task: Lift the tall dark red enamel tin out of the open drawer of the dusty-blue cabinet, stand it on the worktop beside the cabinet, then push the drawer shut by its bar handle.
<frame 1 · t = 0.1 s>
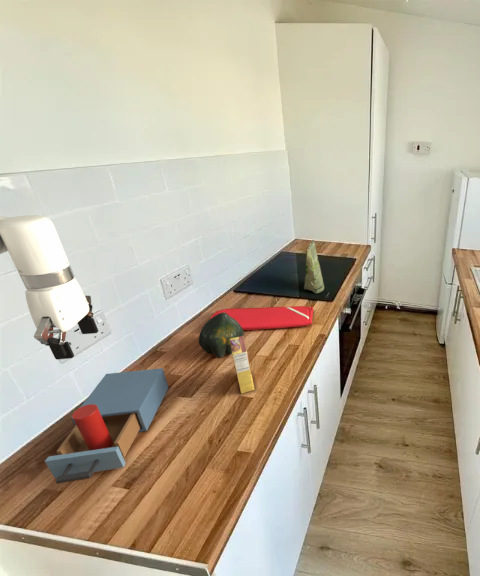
hand: (78, 344, 74), 27 cm above the table, tool pointing down, fingers open, 9 cm apart
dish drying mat: (263, 321, 137), on the table
squash: (224, 349, 119), on the table
cabinet: (129, 411, 92), on the table
pale green cone: (313, 289, 167), on the table
drawer: (98, 443, 78), point 4 cm above the table, slide at 10.0 cm, touching tin
tin: (102, 447, 79), point 2 cm above the table, touching drawer
candy box: (245, 383, 104), on the table
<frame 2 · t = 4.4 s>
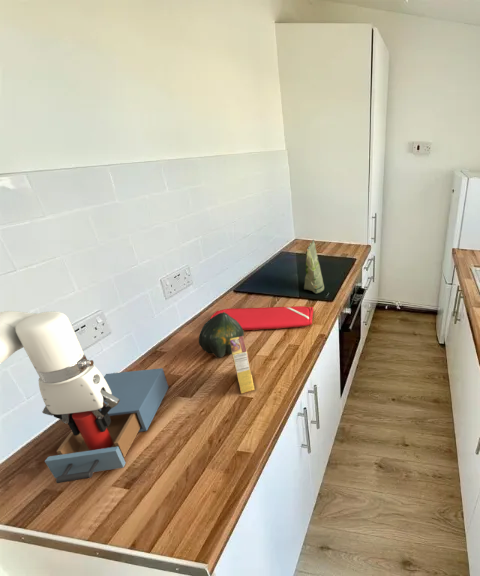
hand: (92, 428, 76), 9 cm above the table, tool pointing down, fingers closed on tin, 4 cm apart
tin: (102, 447, 79), point 2 cm above the table, touching drawer, gripper
everything else where it was.
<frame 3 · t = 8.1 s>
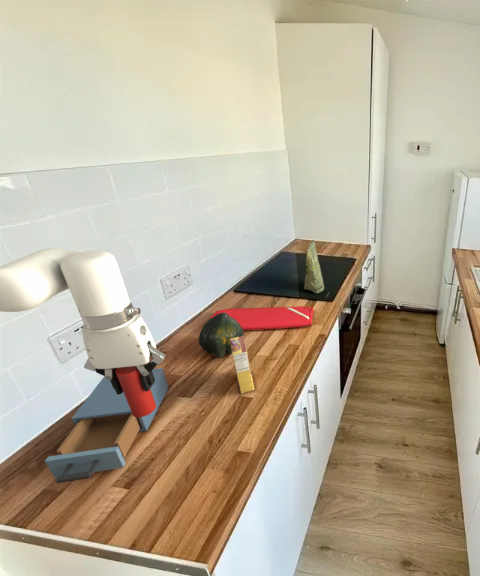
hand: (136, 387, 70), 23 cm above the table, tool pointing down, fingers closed on tin, 4 cm apart
drawer: (98, 443, 78), point 4 cm above the table, slide at 10.0 cm
tin: (144, 409, 73), point 16 cm above the table, touching gripper
everything else where it was.
when the fingers open (7 cm above the table, at t = 11.9 s): tin stays where it is, on the table.
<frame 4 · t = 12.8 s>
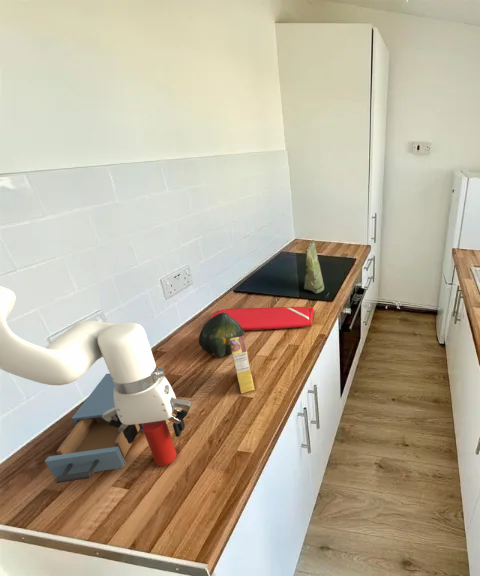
hand: (157, 434, 76), 8 cm above the table, tool pointing down, fingers open, 9 cm apart
tin: (166, 458, 80), on the table
everything else where it was.
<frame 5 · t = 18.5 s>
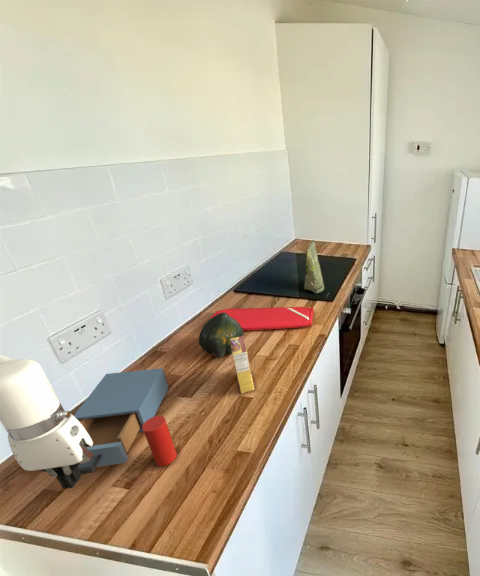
hand: (73, 482, 69), 4 cm above the table, tool pointing down, fingers closed
drawer: (101, 438, 79), point 4 cm above the table, slide at 8.7 cm, touching gripper
everything else where it was.
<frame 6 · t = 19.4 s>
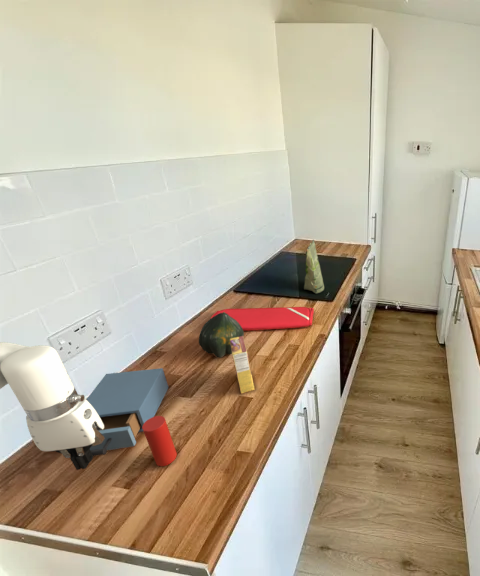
hand: (85, 463, 73), 4 cm above the table, tool pointing down, fingers closed
drawer: (111, 424, 83), point 4 cm above the table, slide at 4.2 cm, touching gripper
everything else where it was.
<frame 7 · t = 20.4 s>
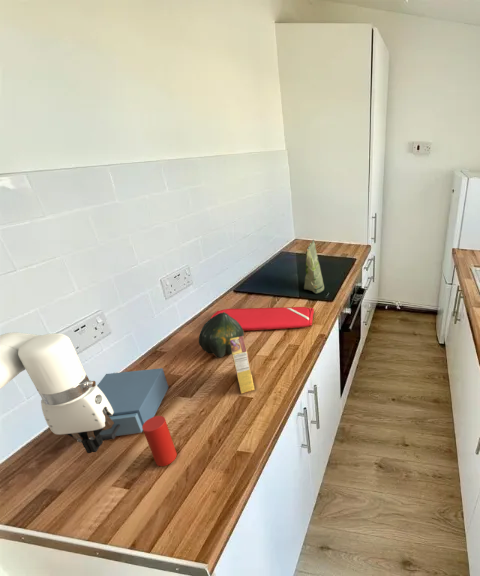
hand: (95, 447, 77), 4 cm above the table, tool pointing down, fingers closed
drawer: (118, 411, 87), point 4 cm above the table, slide at 0.0 cm, touching cabinet, gripper
everything else where it was.
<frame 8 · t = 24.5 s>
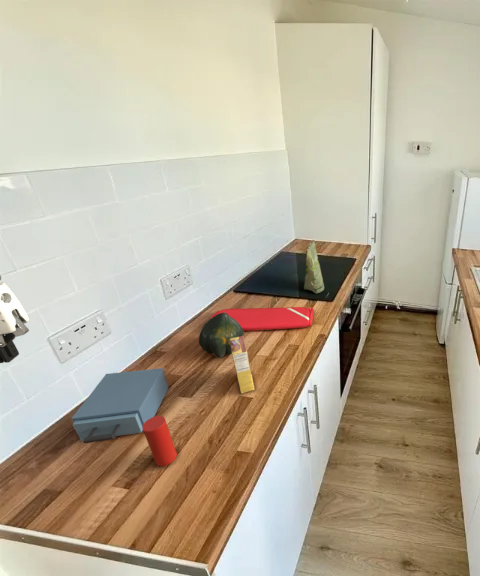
hand: (9, 358, 70), 27 cm above the table, tool pointing down, fingers closed
drawer: (118, 411, 87), point 4 cm above the table, slide at 0.0 cm, touching cabinet
everything else where it was.
at the end: tin inside the target area (0.0 cm from its centre), on the table; tin tilted 0°; drawer slide at 0.0 cm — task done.
